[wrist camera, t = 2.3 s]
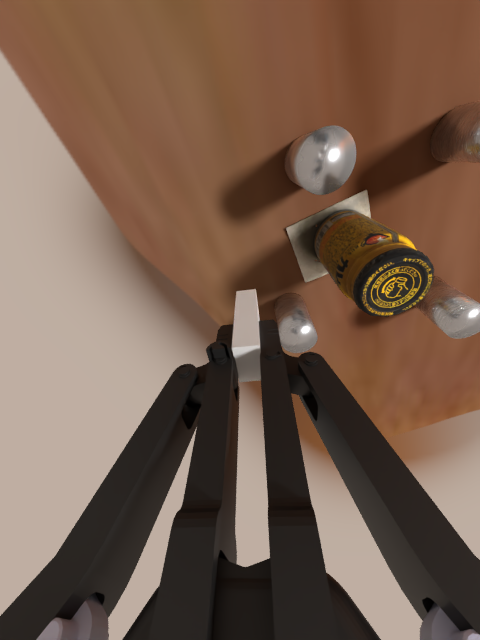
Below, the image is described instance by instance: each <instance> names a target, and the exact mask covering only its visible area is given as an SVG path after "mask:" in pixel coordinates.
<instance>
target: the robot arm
mask: <svg viewBox="0 0 480 640" xmlns="http://www.w3.org/2000/svg"><path fill="white" fill-rule="evenodd" d="M216 340H217V341H216V342H214V343H212V344H210V345H209V346H208V347H207V349H206V351H207V355H208V358H209V363H207V364H206V365H203V366H200V367H197V368H196V367H195V366H193V365H191V364H184V365H181V366H179V367H178V368H177V369H176V370H175V371H174V372H173V374H172V375H171V377H170V378H169V380H168V381H167V383H166V384H165V386H164V388H163V389H162V391H161V392H160V394H159V395H158V397H157V399H156V400H155V402H154V403H153V405H152V406H151V408H150V409H149V411H148V412H147V414H146V416H145V417H144V419H143V420H142V422H141V424H140V425H139V426H138V428H137V430H136V431H135V433H134V434H133V436H132V437H131V439H130V440H129V442H128V444H127V445H126V447H125V448H124V450H123V451H122V453H121V454H120V456H119V458H118V459H117V461H116V463H115V464H114V465H113V467H112V469H111V470H110V472H109V473H108V475H107V476H106V478H105V479H104V481H103V483H102V484H101V486H100V487H99V489H98V490H97V492H96V493H95V495H94V496H93V498H92V500H91V501H90V503H89V504H88V506H87V507H86V509H85V511H84V512H83V514H82V515H81V517H80V518H79V520H78V521H77V523H76V524H75V526H74V528H73V529H72V531H71V533H70V534H69V535H68V537H67V539H66V540H65V542H64V543H63V545H62V546H61V548H60V549H59V551H58V553H57V554H56V556H55V557H54V558H53V559H52V560H51V561H50V562H49V563H48V565H47V566H46V567H45V568H44V569H43V570H42V571H41V572H40V574H38V576H37V577H36V578H35V579H34V580H33V581H32V582H31V583H30V584H29V586H27V587H26V589H25V590H24V591H23V592H22V593H21V594H20V595H19V596H18V597H17V598H16V599H15V601H14V602H13V603H12V604H11V605H10V606H9V607H8V608H7V609H6V610H5V612H4V613H3V614H2V615H1V616H0V640H108V637H109V634H108V617H109V616H110V614H111V612H112V611H113V609H114V608H115V606H116V604H117V603H118V600H119V599H120V597H121V595H122V594H123V592H124V590H125V588H126V586H127V584H128V582H129V580H130V578H131V576H132V574H133V572H134V569H135V567H136V565H137V563H138V561H139V558H140V556H141V553H142V551H143V549H144V547H145V545H146V542H147V540H148V538H149V535H150V533H151V531H152V528H153V526H154V524H155V521H156V519H157V517H158V515H159V512H160V510H161V508H162V505H163V503H164V501H165V498H166V496H167V494H168V491H169V489H170V487H171V485H172V482H173V480H174V478H175V475H176V473H177V471H178V468H179V466H180V464H181V461H182V459H183V457H184V454H185V452H186V450H187V447H188V445H189V443H190V441H191V438H192V436H193V434H194V431H195V429H196V427H197V430H196V435H195V441H194V446H193V452H192V457H191V462H190V468H189V473H188V478H187V484H186V489H185V494H184V500H183V504H182V507H181V509H180V510H179V511H178V512H177V513H176V515H175V518H174V520H173V524H172V528H171V533H170V538H169V542H168V548H167V552H166V557H165V563H164V567H163V572H162V577H161V582H160V586H159V587H158V588H157V589H156V591H155V592H154V594H153V595H152V597H151V598H150V599H149V601H148V602H147V604H146V605H145V607H144V608H143V610H142V611H141V613H140V614H139V616H138V617H137V619H136V620H135V622H134V623H133V625H132V626H131V628H130V629H129V631H128V632H127V634H126V635H125V637H124V638H123V640H381V639H380V638H379V637H378V635H377V634H376V632H375V631H374V630H373V628H372V627H371V626H370V624H369V623H368V621H367V620H366V618H365V617H364V616H363V614H362V613H361V611H360V610H359V609H358V607H357V606H356V604H355V603H354V602H353V601H352V599H351V597H350V596H349V595H348V594H347V592H346V591H345V590H344V589H343V588H342V587H341V585H340V584H339V583H338V582H337V581H336V580H335V579H334V578H333V577H331V576H330V575H329V574H327V573H326V570H325V564H324V559H323V554H322V549H321V543H320V538H319V533H318V528H317V522H316V518H315V513H314V510H313V507H312V504H311V500H310V494H309V489H308V484H307V478H306V473H305V467H304V462H303V456H302V451H301V445H300V440H299V434H298V429H297V424H296V418H295V413H294V408H293V402H292V397H291V393H293V394H297V395H299V397H300V399H301V401H302V403H303V405H304V407H305V408H306V410H307V412H308V414H309V416H310V418H311V420H312V422H313V424H314V426H315V427H316V429H317V431H318V433H319V435H320V437H321V439H322V441H323V443H324V445H325V446H326V448H327V450H328V452H329V454H330V456H331V458H332V460H333V462H334V464H335V465H336V468H337V469H338V471H339V473H340V475H341V477H342V479H343V481H344V483H345V485H346V486H347V488H348V490H349V492H350V494H351V496H352V498H353V500H354V502H355V504H356V506H357V507H358V509H359V511H360V513H361V515H362V517H363V519H364V521H365V523H366V525H367V527H368V528H369V530H370V532H371V534H372V536H373V538H374V540H375V542H376V544H377V546H378V547H379V549H380V551H381V553H382V555H383V557H384V559H385V561H386V563H387V565H388V566H389V568H390V570H391V572H392V573H393V575H394V577H395V579H396V580H397V582H398V584H399V585H400V587H401V589H402V591H403V592H404V594H405V595H406V597H407V598H408V600H409V601H410V603H411V604H412V606H413V607H414V609H415V610H416V612H417V613H418V615H419V616H420V617H421V619H422V620H423V622H422V625H421V628H420V640H480V560H479V559H478V558H477V557H476V556H475V555H474V554H473V553H472V552H471V550H470V549H469V548H468V546H467V545H466V544H465V543H464V541H463V540H462V539H461V537H460V536H459V535H458V534H457V532H456V531H455V529H454V528H453V527H452V525H451V524H450V523H449V522H448V520H447V519H446V518H445V516H444V515H443V514H442V512H441V511H440V510H439V509H438V508H437V506H436V505H435V503H434V502H433V501H432V499H431V498H430V497H429V496H428V494H427V493H426V492H425V491H424V489H423V488H422V486H421V485H420V484H419V482H418V481H417V480H416V478H415V477H414V476H413V475H412V473H411V472H410V471H409V469H408V468H407V467H406V465H405V464H404V463H403V461H402V460H401V459H400V458H399V456H398V455H397V454H396V452H395V451H394V450H393V448H392V447H391V446H390V445H389V443H388V442H387V441H386V439H385V438H384V437H383V435H382V434H381V433H380V431H379V430H378V429H377V427H376V426H375V425H374V424H373V422H372V421H371V420H370V418H369V417H368V416H367V414H366V413H365V412H364V410H363V409H362V408H361V407H360V405H359V404H358V403H357V401H356V400H355V399H354V397H353V396H352V395H351V394H350V392H349V391H348V390H347V388H346V387H345V386H344V384H343V383H342V382H341V380H340V379H339V378H338V377H337V375H336V374H335V373H334V371H333V370H332V369H331V367H330V366H329V365H328V363H327V362H326V361H325V360H324V358H323V357H322V356H321V355H319V354H317V353H313V352H307V353H304V354H301V355H300V356H299V358H298V357H292V356H289V355H287V354H285V353H284V352H283V350H282V347H281V341H280V336H279V331H278V325H277V323H276V322H275V321H274V320H264V321H260V318H259V310H258V302H257V294H256V289H251V290H243V291H236V303H235V315H234V324H232V325H223V326H221V327H220V329H219V330H218V334H217V339H216ZM238 378H239V382H245V381H259V380H261V387H262V405H263V422H264V438H265V454H266V473H267V489H268V527H269V544H270V558H269V559H267V560H264V561H262V562H259V563H257V564H254V565H251V566H249V567H242V566H239V565H237V564H236V560H237V555H236V553H237V551H236V538H235V511H236V480H237V478H236V477H237V449H238V448H237V447H238V417H239V416H238V415H239V414H238V413H239V386H238Z"/></svg>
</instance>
